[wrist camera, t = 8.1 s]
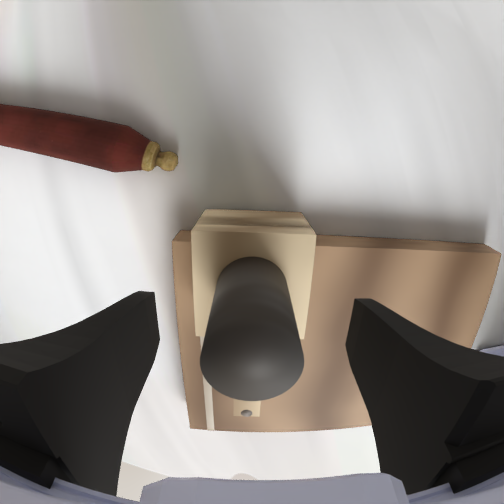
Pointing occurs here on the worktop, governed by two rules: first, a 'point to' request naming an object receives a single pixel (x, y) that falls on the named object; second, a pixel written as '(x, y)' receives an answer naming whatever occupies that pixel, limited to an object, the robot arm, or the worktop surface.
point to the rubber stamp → (251, 301)
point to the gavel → (81, 140)
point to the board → (343, 323)
